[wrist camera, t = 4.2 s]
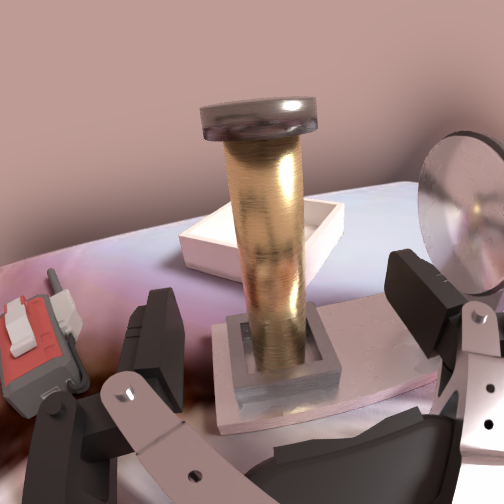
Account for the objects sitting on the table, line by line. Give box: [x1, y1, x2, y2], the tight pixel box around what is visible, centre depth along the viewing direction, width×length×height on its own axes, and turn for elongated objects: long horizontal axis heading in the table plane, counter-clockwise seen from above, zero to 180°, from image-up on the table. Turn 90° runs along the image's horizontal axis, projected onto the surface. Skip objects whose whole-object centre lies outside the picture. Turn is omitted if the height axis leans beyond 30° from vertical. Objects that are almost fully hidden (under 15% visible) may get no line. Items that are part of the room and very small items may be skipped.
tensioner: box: [211, 131, 504, 435], centre depth 15 cm, size 20×10×14 cm, turn 97°
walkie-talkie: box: [0, 268, 90, 419], centre depth 22 cm, size 9×4×20 cm
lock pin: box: [200, 97, 318, 372], centre depth 14 cm, size 4×4×14 cm
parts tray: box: [178, 198, 344, 288], centre depth 31 cm, size 12×12×4 cm
